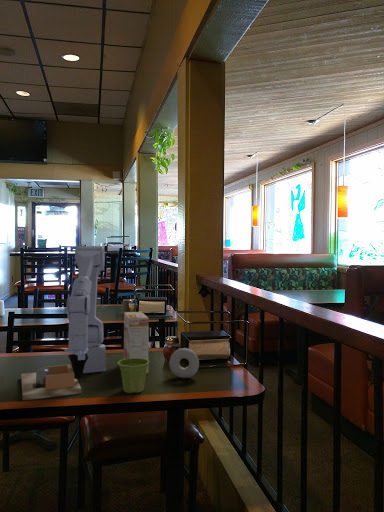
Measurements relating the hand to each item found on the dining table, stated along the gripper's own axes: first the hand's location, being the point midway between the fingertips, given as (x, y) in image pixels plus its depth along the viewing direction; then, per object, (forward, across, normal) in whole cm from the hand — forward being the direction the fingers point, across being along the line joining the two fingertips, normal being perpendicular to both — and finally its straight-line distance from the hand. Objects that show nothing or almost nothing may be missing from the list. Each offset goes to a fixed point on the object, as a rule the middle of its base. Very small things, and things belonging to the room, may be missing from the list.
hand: (77, 377), depth 128 cm
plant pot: (+3, +10, +15) cm, 18 cm away
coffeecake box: (+3, -13, +22) cm, 26 cm away
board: (+3, -4, -8) cm, 9 cm away
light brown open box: (+1, 0, -6) cm, 6 cm away
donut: (+3, +4, +34) cm, 34 cm away
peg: (+2, 0, -11) cm, 11 cm away
